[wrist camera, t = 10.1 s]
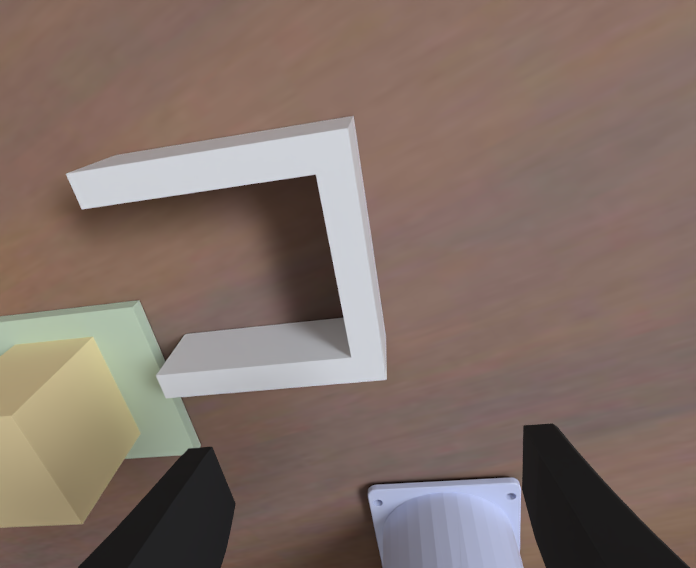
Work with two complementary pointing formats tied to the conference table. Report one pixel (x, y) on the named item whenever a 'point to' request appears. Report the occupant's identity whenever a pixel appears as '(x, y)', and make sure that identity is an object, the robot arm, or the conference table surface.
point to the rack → (344, 239)
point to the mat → (117, 366)
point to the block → (58, 432)
